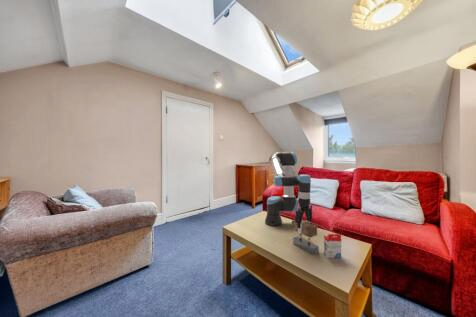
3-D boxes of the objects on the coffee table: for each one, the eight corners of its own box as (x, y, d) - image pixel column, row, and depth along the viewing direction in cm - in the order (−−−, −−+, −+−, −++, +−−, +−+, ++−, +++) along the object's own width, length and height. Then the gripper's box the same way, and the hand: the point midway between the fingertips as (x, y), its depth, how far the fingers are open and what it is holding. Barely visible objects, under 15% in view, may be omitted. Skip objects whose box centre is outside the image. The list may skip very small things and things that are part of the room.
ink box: (336, 253, 114) (337, 230, 113) (341, 257, 109) (341, 234, 108) (323, 253, 113) (323, 230, 113) (327, 258, 108) (328, 234, 108)
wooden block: (291, 228, 126) (291, 220, 125) (298, 226, 129) (298, 218, 129) (309, 237, 113) (309, 228, 112) (317, 235, 116) (317, 226, 116)
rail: (293, 243, 126) (293, 232, 125) (299, 241, 129) (299, 231, 128) (312, 254, 112) (312, 243, 111) (318, 252, 115) (318, 240, 114)
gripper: (298, 201, 112) (297, 237, 113) (318, 197, 122) (318, 230, 123) (289, 198, 118) (288, 232, 119) (309, 194, 128) (309, 226, 129)
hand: (303, 231), depth 121 cm, fingers closed on wooden block, 7 cm apart
